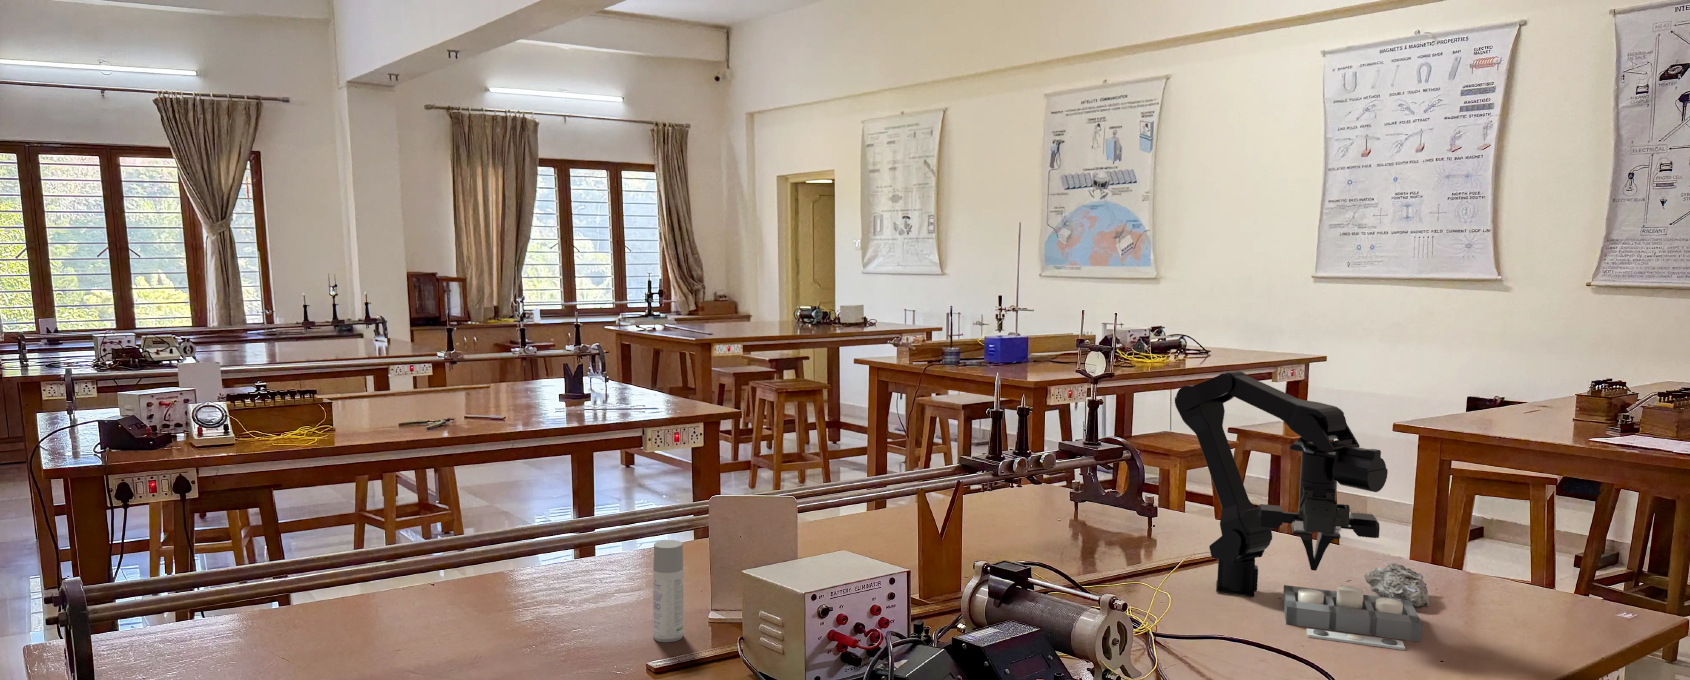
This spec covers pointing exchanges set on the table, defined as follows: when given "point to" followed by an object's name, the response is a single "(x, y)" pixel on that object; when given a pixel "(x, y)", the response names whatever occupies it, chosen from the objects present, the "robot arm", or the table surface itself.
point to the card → (1355, 639)
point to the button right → (1389, 606)
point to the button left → (1310, 596)
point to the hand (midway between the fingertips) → (1313, 569)
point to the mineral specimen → (1398, 584)
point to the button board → (1352, 616)
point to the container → (668, 591)
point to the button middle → (1349, 597)
